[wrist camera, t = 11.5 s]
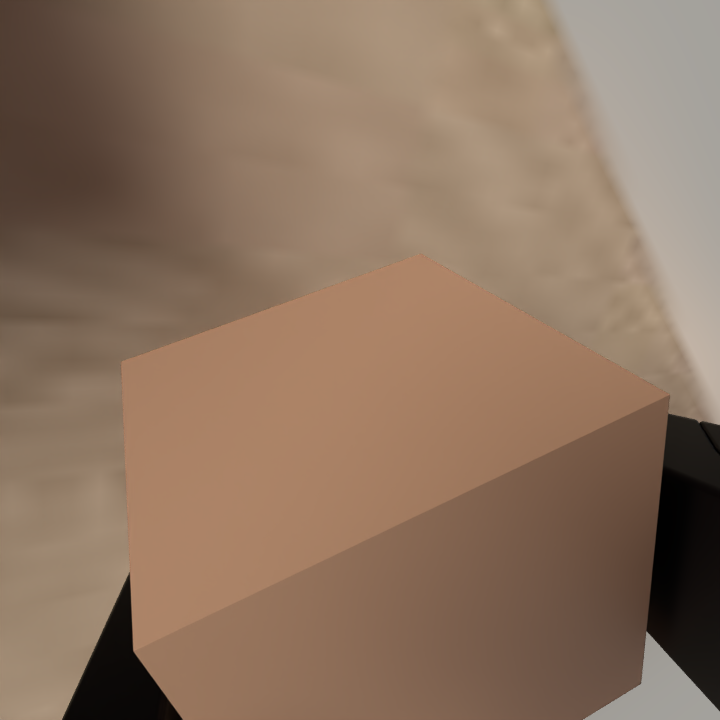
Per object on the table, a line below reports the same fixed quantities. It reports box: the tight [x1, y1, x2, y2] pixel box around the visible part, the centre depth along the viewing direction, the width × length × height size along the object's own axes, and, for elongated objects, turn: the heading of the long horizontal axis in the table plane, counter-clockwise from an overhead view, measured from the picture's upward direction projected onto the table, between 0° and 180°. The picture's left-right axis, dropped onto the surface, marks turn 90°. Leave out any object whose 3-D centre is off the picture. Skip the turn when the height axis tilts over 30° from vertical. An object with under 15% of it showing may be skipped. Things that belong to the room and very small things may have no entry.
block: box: [121, 254, 670, 720], centre depth 8 cm, size 5×5×5 cm
